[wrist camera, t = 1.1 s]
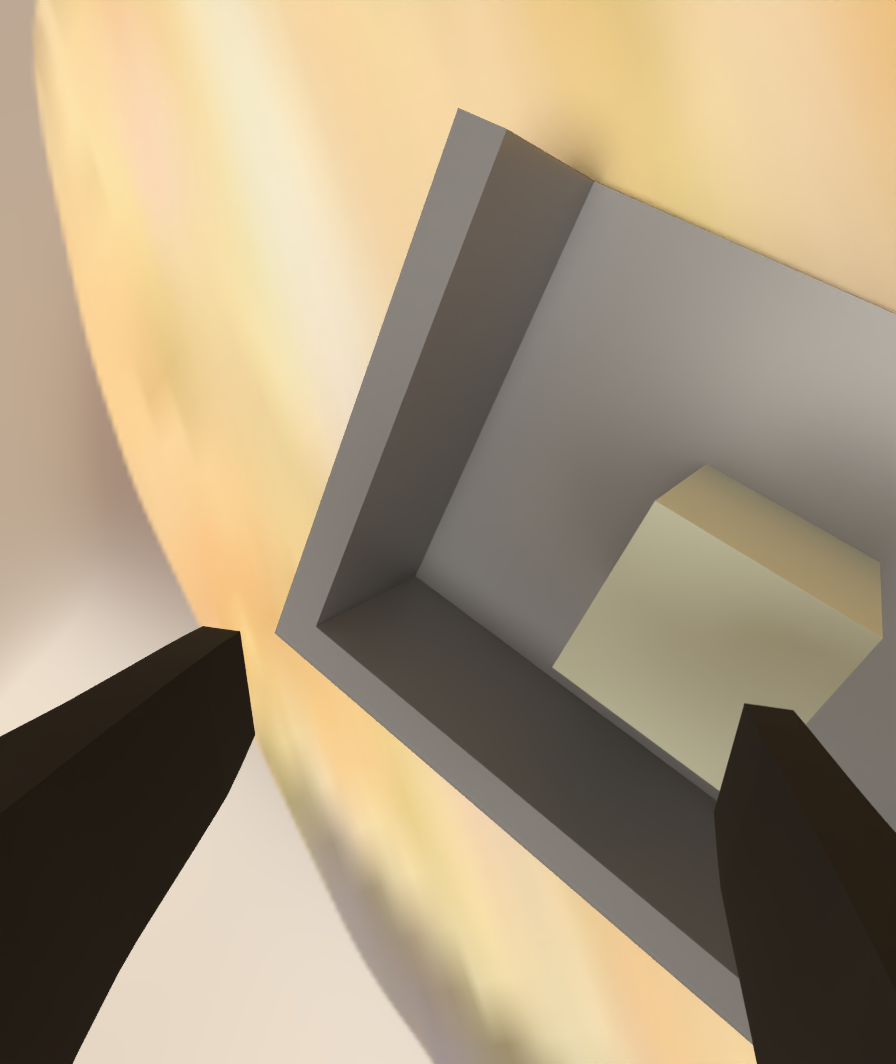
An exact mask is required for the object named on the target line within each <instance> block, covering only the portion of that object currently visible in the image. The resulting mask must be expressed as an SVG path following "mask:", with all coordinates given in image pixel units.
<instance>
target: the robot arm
mask: <svg viewBox="0 0 896 1064" xmlns="http://www.w3.org/2000/svg"><path fill="white" fill-rule="evenodd" d="M254 736H255V730H254V724H253V717H252V710H251V703H250V696H249V689H248V682H247V676H246V669H245V662H244V655H243V648H242V641H241V634H240V631H233V630H226V629H219V628H212V627H205V626H203V627H201V628H198V629H196V630H194V631H192V632H190V633H188V634H186V635H185V636H183V637H181V638H179V639H177V640H175V641H173V642H172V643H170V644H168V645H166V646H164V647H163V648H161V649H159V650H157V651H156V652H154V653H152V654H150V655H149V656H147V657H145V658H144V659H142V660H140V661H138V662H136V663H135V664H133V665H131V666H129V667H128V668H126V669H124V670H122V671H121V672H119V673H117V674H116V675H114V676H112V677H110V678H108V679H106V680H105V681H103V682H101V683H99V684H98V685H96V686H94V687H93V688H90V689H89V690H87V691H85V692H83V693H82V694H80V695H78V696H76V697H75V698H73V699H71V700H69V701H67V702H66V703H64V704H62V705H60V706H58V707H56V708H54V709H52V710H50V711H48V712H47V713H45V714H43V715H41V716H39V717H37V718H35V719H33V720H31V721H29V722H27V723H25V724H24V725H22V726H20V727H18V728H16V729H14V730H12V731H10V732H8V733H7V734H4V735H2V736H1V737H0V1064H73V1061H74V1059H75V1057H76V1055H77V1053H78V1051H79V1049H80V1047H81V1045H82V1043H83V1041H84V1039H85V1037H86V1035H87V1033H88V1031H89V1030H90V1028H91V1026H92V1023H93V1022H94V1020H95V1018H96V1016H97V1014H98V1012H99V1010H100V1007H101V1006H102V1004H103V1002H104V1000H105V998H106V996H107V994H108V992H109V990H110V988H111V986H112V984H113V982H114V981H115V978H116V976H117V975H118V973H119V971H120V969H121V967H122V966H123V964H124V962H125V961H126V959H127V957H128V955H129V954H130V952H131V950H132V949H133V947H134V945H135V943H136V941H137V940H138V938H139V937H140V935H141V933H142V932H143V930H144V929H145V927H146V925H147V924H148V922H149V921H150V919H151V917H152V916H153V914H154V913H155V911H156V909H157V908H158V906H159V905H160V903H161V902H162V900H163V898H164V897H165V895H166V893H167V892H168V890H169V889H170V887H171V885H172V884H173V882H174V881H175V879H176V878H177V876H178V874H179V873H180V871H181V870H182V868H183V867H184V865H185V863H186V862H187V860H188V859H189V857H190V855H191V854H192V852H193V851H194V849H195V847H196V846H197V844H198V842H199V841H200V839H201V837H202V836H203V834H204V833H205V831H206V830H207V828H208V826H209V825H210V823H211V822H212V820H213V818H214V817H215V815H216V813H217V812H218V810H219V808H220V807H221V805H222V803H223V802H224V800H225V798H226V797H227V795H228V793H229V791H230V789H231V787H232V784H233V782H234V780H235V778H236V776H237V774H238V772H239V770H240V768H241V765H242V763H243V761H244V759H245V757H246V754H247V752H248V749H249V747H250V745H251V743H252V741H253V738H254ZM714 821H715V833H716V846H717V857H718V868H719V878H720V888H721V893H722V898H723V903H724V908H725V913H726V918H727V923H728V928H729V933H730V937H731V942H732V947H733V952H734V957H735V962H736V966H737V971H738V976H739V980H740V985H741V990H742V995H743V999H744V1004H745V1009H746V1014H747V1018H748V1023H749V1028H750V1032H751V1037H752V1042H753V1047H754V1051H755V1056H756V1061H757V1064H896V832H895V831H894V830H893V829H892V828H891V827H890V825H889V824H888V823H887V822H886V821H885V820H884V819H883V817H882V816H881V815H880V814H879V813H878V812H877V810H876V809H875V808H874V807H873V806H872V804H871V803H870V802H869V801H868V800H867V799H866V797H865V796H864V795H863V794H862V793H861V791H860V790H859V789H858V788H857V787H856V785H855V784H854V783H853V782H852V781H851V779H850V778H849V777H848V776H847V775H846V773H845V772H844V771H843V770H842V769H841V767H840V766H839V765H838V764H837V762H836V761H835V760H834V759H833V758H832V756H831V755H830V754H829V753H828V751H827V750H826V749H825V748H824V747H823V745H822V744H821V743H820V742H819V740H818V739H817V738H816V737H815V736H814V734H813V733H812V732H811V731H810V729H809V728H808V727H807V726H806V725H805V723H804V722H803V721H802V720H801V719H800V717H799V716H798V715H797V714H796V713H795V711H794V710H789V709H782V708H775V707H768V706H761V705H754V704H747V703H744V706H743V710H742V713H741V717H740V720H739V724H738V727H737V731H736V735H735V738H734V742H733V745H732V749H731V753H730V756H729V760H728V763H727V767H726V770H725V774H724V778H723V781H722V785H721V788H720V792H719V795H718V799H717V803H716V806H715V810H714Z"/></svg>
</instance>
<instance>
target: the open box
mask: <svg viewBox="0 0 896 1064" xmlns="http://www.w3.org/2000/svg"><path fill="white" fill-rule="evenodd" d="M706 464H708V465H710V466H711V467H713V468H715V469H717V470H718V471H720V472H722V473H724V474H725V475H727V476H729V477H731V478H733V479H734V480H736V481H738V482H740V483H741V484H743V485H745V486H747V487H748V488H750V489H752V490H754V491H755V492H757V493H759V494H761V495H762V496H764V497H766V498H768V499H769V500H771V501H773V502H775V503H777V504H778V505H780V506H782V507H784V508H785V509H787V510H789V511H791V512H792V513H794V514H796V515H798V516H799V517H801V518H803V519H805V520H806V521H808V522H810V523H812V524H813V525H815V526H817V527H819V528H821V529H822V530H824V531H826V532H828V533H829V534H831V535H833V536H835V537H836V538H838V539H840V540H842V541H843V542H845V543H847V544H849V545H850V546H852V547H854V548H856V549H858V550H859V551H861V552H863V553H865V554H866V555H868V556H870V557H872V558H873V559H875V560H877V561H879V562H880V576H881V603H882V630H883V639H882V640H881V641H880V642H879V643H878V644H877V645H876V647H875V648H874V649H873V650H872V651H871V652H870V653H869V654H868V655H867V657H866V658H865V659H864V660H863V661H862V662H861V663H860V664H859V666H858V667H857V668H856V669H855V670H854V671H853V672H852V673H851V674H850V676H849V677H848V678H847V679H846V680H845V681H844V682H843V683H842V684H841V686H840V687H839V688H838V689H837V690H836V691H835V692H834V693H833V694H832V696H831V697H830V698H829V699H828V700H827V701H826V702H825V703H824V704H823V706H822V707H821V708H820V709H819V710H818V711H817V712H816V713H815V714H814V716H813V717H812V718H811V719H810V720H809V721H808V722H807V723H806V724H805V725H806V726H807V727H808V728H809V729H810V731H811V732H812V733H813V734H814V736H815V737H816V738H817V739H818V740H819V742H820V743H821V744H822V745H823V747H824V748H825V749H826V750H827V751H828V753H829V754H830V755H831V756H832V758H833V759H834V760H835V761H836V762H837V764H838V765H839V766H840V767H841V769H842V770H843V771H844V772H845V773H846V775H847V776H848V777H849V778H850V779H851V781H852V782H853V783H854V784H855V785H856V787H857V788H858V789H859V790H860V791H861V793H862V794H863V795H864V796H865V797H866V799H867V800H868V801H869V802H870V803H871V804H872V806H873V807H874V808H875V809H876V810H877V812H878V813H879V814H880V815H881V816H882V817H883V819H884V820H885V821H886V822H887V823H888V824H889V825H890V827H891V828H892V829H893V830H894V831H895V832H896V314H894V313H892V312H889V311H887V310H885V309H883V308H880V307H878V306H876V305H874V304H871V303H869V302H867V301H865V300H862V299H860V298H858V297H856V296H853V295H851V294H849V293H847V292H844V291H842V290H840V289H837V288H835V287H833V286H831V285H828V284H826V283H824V282H822V281H819V280H817V279H815V278H813V277H810V276H808V275H806V274H804V273H801V272H799V271H797V270H794V269H792V268H790V267H788V266H785V265H783V264H781V263H779V262H776V261H774V260H772V259H770V258H767V257H765V256H763V255H761V254H758V253H756V252H754V251H751V250H749V249H747V248H745V247H742V246H740V245H738V244H736V243H733V242H731V241H729V240H727V239H724V238H722V237H720V236H718V235H715V234H713V233H711V232H709V231H706V230H704V229H702V228H699V227H697V226H695V225H693V224H690V223H688V222H686V221H684V220H681V219H679V218H677V217H675V216H672V215H670V214H668V213H666V212H663V211H661V210H659V209H656V208H654V207H652V206H650V205H647V204H645V203H643V202H641V201H638V200H636V199H634V198H632V197H629V196H627V195H625V194H623V193H620V192H618V191H616V190H613V189H611V188H609V187H607V186H604V185H602V184H600V183H598V182H595V181H593V180H592V179H590V178H588V177H587V176H585V175H583V174H582V173H580V172H578V171H577V170H575V169H573V168H572V167H570V166H568V165H566V164H565V163H563V162H561V161H560V160H558V159H556V158H555V157H553V156H551V155H550V154H548V153H546V152H545V151H543V150H541V149H540V148H538V147H536V146H534V145H533V144H531V143H529V142H528V141H526V140H524V139H523V138H521V137H519V136H518V135H516V134H514V133H513V132H511V131H509V130H507V129H505V128H503V127H501V126H498V125H496V124H494V123H492V122H489V121H487V120H485V119H482V118H480V117H478V116H475V115H473V114H471V113H469V112H466V111H464V110H462V109H459V108H458V110H457V113H456V116H455V119H454V122H453V125H452V127H451V130H450V133H449V136H448V139H447V142H446V145H445V147H444V150H443V153H442V156H441V159H440V162H439V165H438V167H437V170H436V173H435V176H434V179H433V182H432V185H431V187H430V190H429V193H428V196H427V199H426V202H425V205H424V208H423V210H422V213H421V216H420V219H419V222H418V225H417V228H416V230H415V233H414V236H413V239H412V242H411V245H410V248H409V250H408V253H407V256H406V259H405V262H404V265H403V268H402V270H401V273H400V276H399V279H398V282H397V285H396V288H395V290H394V293H393V296H392V299H391V302H390V305H389V308H388V310H387V313H386V316H385V319H384V322H383V325H382V328H381V331H380V333H379V336H378V339H377V342H376V345H375V348H374V351H373V353H372V356H371V359H370V362H369V365H368V368H367V371H366V373H365V376H364V379H363V382H362V385H361V388H360V391H359V393H358V396H357V399H356V402H355V405H354V408H353V411H352V413H351V416H350V419H349V422H348V425H347V428H346V431H345V434H344V436H343V439H342V442H341V445H340V448H339V451H338V454H337V456H336V459H335V462H334V465H333V468H332V471H331V474H330V476H329V479H328V482H327V485H326V488H325V491H324V494H323V496H322V499H321V502H320V505H319V508H318V511H317V514H316V516H315V519H314V522H313V525H312V528H311V531H310V534H309V536H308V539H307V542H306V545H305V548H304V551H303V554H302V557H301V559H300V562H299V565H298V568H297V571H296V574H295V577H294V579H293V582H292V585H291V588H290V591H289V594H288V597H287V599H286V602H285V605H284V608H283V611H282V614H281V617H280V619H279V622H278V625H277V628H276V631H275V634H276V635H278V636H279V637H280V638H281V639H282V640H283V641H285V642H286V643H287V644H288V645H289V646H290V647H292V648H293V649H294V650H295V651H296V652H297V653H299V654H300V655H301V656H302V657H303V658H304V659H305V660H307V661H308V662H309V663H310V664H311V665H312V666H314V667H315V668H316V669H317V670H318V671H319V672H321V673H322V674H323V675H324V676H325V677H326V678H328V679H329V680H330V681H331V682H332V683H333V684H335V685H336V686H337V687H338V688H339V689H340V690H341V691H343V692H344V693H345V694H346V695H347V696H348V697H350V698H351V699H352V700H353V701H354V702H355V703H357V704H358V705H359V706H360V707H361V708H362V709H364V710H365V711H366V712H367V713H368V714H369V715H371V716H372V717H373V718H374V719H375V720H376V721H378V722H379V723H380V724H381V725H382V726H383V727H384V728H386V729H387V730H388V731H389V732H390V733H391V734H393V735H394V736H395V737H396V738H397V739H398V740H400V741H401V742H402V743H403V744H404V745H405V746H407V747H408V748H409V749H410V750H411V751H412V752H414V753H415V754H416V755H417V756H418V757H419V758H421V759H422V760H423V761H424V762H425V763H426V764H427V765H429V766H430V767H431V768H432V769H433V770H434V771H436V772H437V773H438V774H439V775H440V776H441V777H443V778H444V779H445V780H446V781H447V782H448V783H450V784H451V785H452V786H453V787H454V788H455V789H457V790H458V791H459V792H460V793H461V794H462V795H464V796H465V797H466V798H467V799H468V800H469V801H470V802H472V803H473V804H474V805H475V806H476V807H477V808H479V809H480V810H481V811H482V812H483V813H484V814H486V815H487V816H488V817H489V818H490V819H491V820H493V821H494V822H495V823H496V824H497V825H498V826H500V827H501V828H502V829H503V830H504V831H505V832H506V833H508V834H509V835H510V836H511V837H512V838H513V839H515V840H516V841H517V842H518V843H519V844H520V845H522V846H523V847H524V848H525V849H526V850H527V851H529V852H530V853H531V854H532V855H533V856H534V857H536V858H537V859H538V860H539V861H540V862H541V863H543V864H544V865H545V866H546V867H547V868H548V869H549V870H551V871H552V872H553V873H554V874H555V875H556V876H558V877H559V878H560V879H561V880H562V881H563V882H565V883H566V884H567V885H568V886H569V887H570V888H572V889H573V890H574V891H575V892H576V893H577V894H579V895H580V896H581V897H582V898H583V899H584V900H586V901H587V902H588V903H589V904H590V905H591V906H592V907H594V908H595V909H596V910H597V911H598V912H599V913H601V914H602V915H603V916H604V917H605V918H606V919H608V920H609V921H610V922H611V923H612V924H613V925H615V926H616V927H617V928H618V929H619V930H620V931H622V932H623V933H624V934H625V935H626V936H627V937H629V938H630V939H631V940H632V941H633V942H634V943H635V944H637V945H638V946H639V947H640V948H641V949H642V950H644V951H645V952H646V953H647V954H648V955H649V956H651V957H652V958H653V959H654V960H655V961H656V962H658V963H659V964H660V965H661V966H662V967H663V968H665V969H666V970H667V971H668V972H669V973H670V974H671V975H673V976H674V977H675V978H676V979H677V980H678V981H680V982H681V983H682V984H683V985H684V986H685V987H687V988H688V989H689V990H690V991H691V992H692V993H694V994H695V995H696V996H697V997H698V998H699V999H701V1000H702V1001H703V1002H704V1003H705V1004H706V1005H708V1006H709V1007H710V1008H711V1009H712V1010H713V1011H714V1012H716V1013H717V1014H718V1015H719V1016H720V1017H721V1018H723V1019H724V1020H725V1021H726V1022H727V1023H728V1024H730V1025H731V1026H732V1027H733V1028H734V1029H735V1030H737V1031H738V1032H739V1033H740V1034H741V1035H742V1036H744V1037H745V1038H746V1039H747V1040H748V1041H749V1042H751V1043H752V1044H753V1042H752V1037H751V1032H750V1028H749V1023H748V1018H747V1014H746V1009H745V1004H744V999H743V995H742V990H741V985H740V980H739V976H738V971H737V966H736V962H735V957H734V952H733V947H732V942H731V937H730V933H729V928H728V923H727V918H726V913H725V908H724V903H723V898H722V893H721V888H720V878H719V868H718V857H717V846H716V833H715V821H714V810H715V806H716V803H717V799H718V795H719V792H720V791H719V790H717V789H716V788H715V787H713V786H712V785H711V784H709V783H708V782H707V781H705V780H704V779H703V778H701V777H700V776H698V775H697V774H696V773H694V772H693V771H692V770H690V769H689V768H688V767H686V766H685V765H684V764H682V763H681V762H680V761H678V760H677V759H675V758H674V757H673V756H671V755H670V754H669V753H667V752H666V751H665V750H663V749H662V748H661V747H659V746H658V745H657V744H655V743H654V742H653V741H651V740H650V739H648V738H647V737H646V736H644V735H643V734H642V733H640V732H639V731H638V730H636V729H635V728H634V727H632V726H631V725H630V724H628V723H627V722H625V721H624V720H623V719H621V718H620V717H619V716H617V715H616V714H615V713H613V712H612V711H611V710H609V709H608V708H607V707H605V706H604V705H602V704H601V703H600V702H598V701H597V700H596V699H594V698H593V697H592V696H590V695H589V694H588V693H586V692H585V691H584V690H582V689H581V688H580V687H578V686H577V685H575V684H574V683H573V682H571V681H570V680H569V679H567V678H566V677H565V676H563V675H562V674H561V673H559V672H558V671H557V670H555V669H554V668H552V667H553V665H554V664H555V662H556V660H557V659H558V657H559V656H560V654H561V652H562V651H563V649H564V647H565V646H566V644H567V643H568V641H569V639H570V638H571V636H572V634H573V633H574V631H575V630H576V628H577V626H578V625H579V623H580V622H581V620H582V618H583V617H584V615H585V613H586V612H587V610H588V609H589V607H590V605H591V604H592V602H593V600H594V599H595V597H596V596H597V594H598V592H599V591H600V589H601V587H602V586H603V584H604V583H605V581H606V579H607V578H608V576H609V575H610V573H611V571H612V570H613V568H614V566H615V565H616V563H617V562H618V560H619V558H620V557H621V555H622V553H623V552H624V550H625V549H626V547H627V545H628V544H629V542H630V540H631V539H632V537H633V536H634V534H635V532H636V531H637V529H638V528H639V526H640V524H641V523H642V521H643V519H644V518H645V516H646V515H647V513H648V511H649V510H650V508H651V506H652V505H653V503H654V502H655V500H657V499H658V498H660V497H661V496H662V495H664V494H665V493H667V492H668V491H669V490H671V489H672V488H673V487H675V486H676V485H678V484H679V483H680V482H682V481H683V480H685V479H686V478H687V477H689V476H690V475H692V474H693V473H694V472H696V471H697V470H699V469H700V468H701V467H703V466H704V465H706Z"/></svg>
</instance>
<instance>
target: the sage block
mask: <svg viewBox="0 0 896 1064" xmlns="http://www.w3.org/2000/svg"><path fill="white" fill-rule="evenodd" d="M882 639H883V630H882V603H881V576H880V562H879V561H877V560H875V559H873V558H872V557H870V556H868V555H866V554H865V553H863V552H861V551H859V550H858V549H856V548H854V547H852V546H850V545H849V544H847V543H845V542H843V541H842V540H840V539H838V538H836V537H835V536H833V535H831V534H829V533H828V532H826V531H824V530H822V529H821V528H819V527H817V526H815V525H813V524H812V523H810V522H808V521H806V520H805V519H803V518H801V517H799V516H798V515H796V514H794V513H792V512H791V511H789V510H787V509H785V508H784V507H782V506H780V505H778V504H777V503H775V502H773V501H771V500H769V499H768V498H766V497H764V496H762V495H761V494H759V493H757V492H755V491H754V490H752V489H750V488H748V487H747V486H745V485H743V484H741V483H740V482H738V481H736V480H734V479H733V478H731V477H729V476H727V475H725V474H724V473H722V472H720V471H718V470H717V469H715V468H713V467H711V466H710V465H708V464H706V465H704V466H703V467H701V468H700V469H699V470H697V471H696V472H694V473H693V474H692V475H690V476H689V477H687V478H686V479H685V480H683V481H682V482H680V483H679V484H678V485H676V486H675V487H673V488H672V489H671V490H669V491H668V492H667V493H665V494H664V495H662V496H661V497H660V498H658V499H657V500H655V502H654V503H653V505H652V506H651V508H650V510H649V511H648V513H647V515H646V516H645V518H644V519H643V521H642V523H641V524H640V526H639V528H638V529H637V531H636V532H635V534H634V536H633V537H632V539H631V540H630V542H629V544H628V545H627V547H626V549H625V550H624V552H623V553H622V555H621V557H620V558H619V560H618V562H617V563H616V565H615V566H614V568H613V570H612V571H611V573H610V575H609V576H608V578H607V579H606V581H605V583H604V584H603V586H602V587H601V589H600V591H599V592H598V594H597V596H596V597H595V599H594V600H593V602H592V604H591V605H590V607H589V609H588V610H587V612H586V613H585V615H584V617H583V618H582V620H581V622H580V623H579V625H578V626H577V628H576V630H575V631H574V633H573V634H572V636H571V638H570V639H569V641H568V643H567V644H566V646H565V647H564V649H563V651H562V652H561V654H560V656H559V657H558V659H557V660H556V662H555V664H554V665H553V667H552V668H554V669H555V670H557V671H558V672H559V673H561V674H562V675H563V676H565V677H566V678H567V679H569V680H570V681H571V682H573V683H574V684H575V685H577V686H578V687H580V688H581V689H582V690H584V691H585V692H586V693H588V694H589V695H590V696H592V697H593V698H594V699H596V700H597V701H598V702H600V703H601V704H602V705H604V706H605V707H607V708H608V709H609V710H611V711H612V712H613V713H615V714H616V715H617V716H619V717H620V718H621V719H623V720H624V721H625V722H627V723H628V724H630V725H631V726H632V727H634V728H635V729H636V730H638V731H639V732H640V733H642V734H643V735H644V736H646V737H647V738H648V739H650V740H651V741H653V742H654V743H655V744H657V745H658V746H659V747H661V748H662V749H663V750H665V751H666V752H667V753H669V754H670V755H671V756H673V757H674V758H675V759H677V760H678V761H680V762H681V763H682V764H684V765H685V766H686V767H688V768H689V769H690V770H692V771H693V772H694V773H696V774H697V775H698V776H700V777H701V778H703V779H704V780H705V781H707V782H708V783H709V784H711V785H712V786H713V787H715V788H716V789H717V790H719V791H720V788H721V785H722V781H723V778H724V774H725V770H726V767H727V763H728V760H729V756H730V753H731V749H732V745H733V742H734V738H735V735H736V731H737V727H738V724H739V720H740V717H741V713H742V710H743V706H744V703H747V704H754V705H761V706H768V707H775V708H782V709H789V710H794V711H795V713H796V714H797V715H798V716H799V717H800V719H801V720H802V721H803V722H804V723H805V724H806V723H807V722H808V721H809V720H810V719H811V718H812V717H813V716H814V714H815V713H816V712H817V711H818V710H819V709H820V708H821V707H822V706H823V704H824V703H825V702H826V701H827V700H828V699H829V698H830V697H831V696H832V694H833V693H834V692H835V691H836V690H837V689H838V688H839V687H840V686H841V684H842V683H843V682H844V681H845V680H846V679H847V678H848V677H849V676H850V674H851V673H852V672H853V671H854V670H855V669H856V668H857V667H858V666H859V664H860V663H861V662H862V661H863V660H864V659H865V658H866V657H867V655H868V654H869V653H870V652H871V651H872V650H873V649H874V648H875V647H876V645H877V644H878V643H879V642H880V641H881V640H882Z"/></svg>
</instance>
